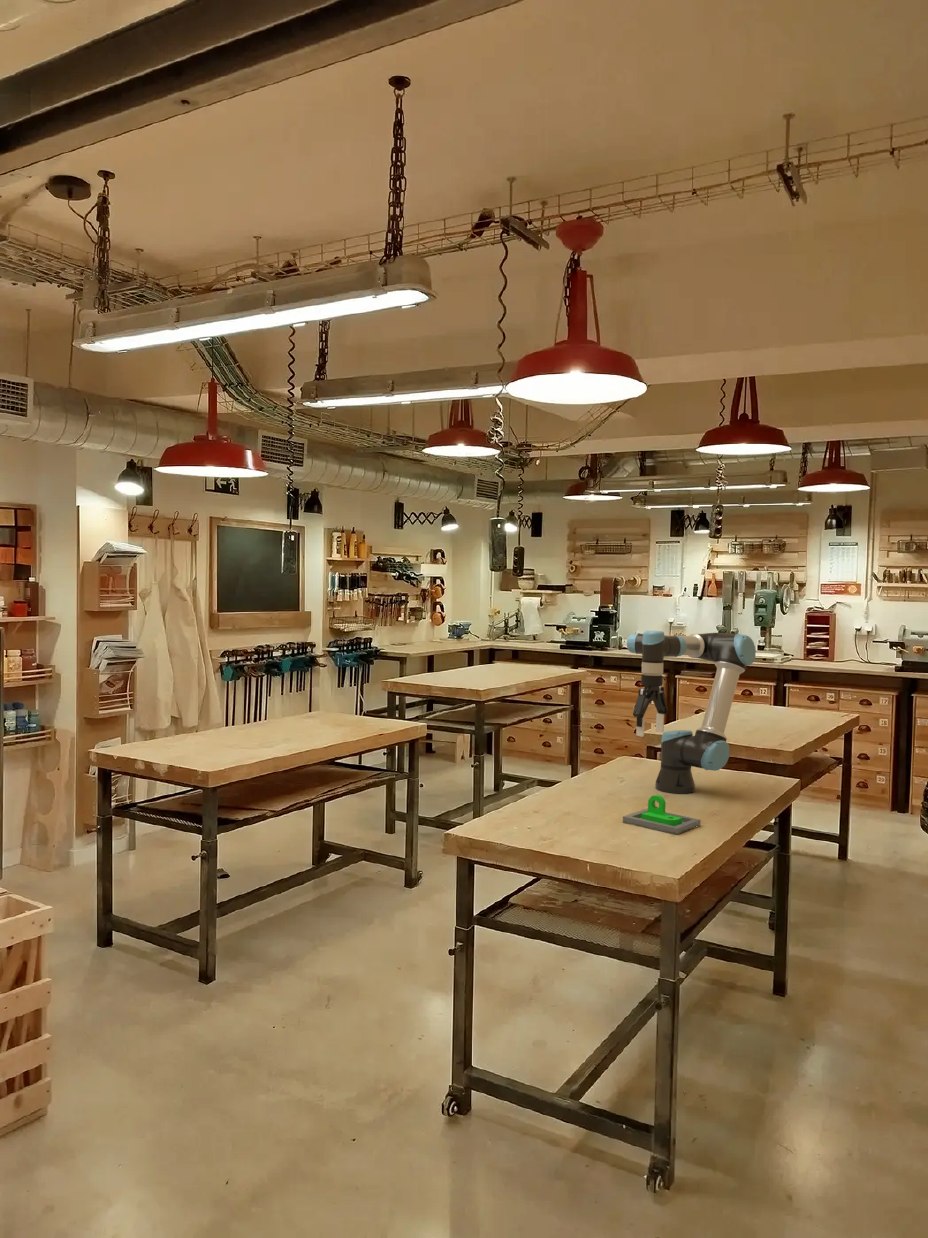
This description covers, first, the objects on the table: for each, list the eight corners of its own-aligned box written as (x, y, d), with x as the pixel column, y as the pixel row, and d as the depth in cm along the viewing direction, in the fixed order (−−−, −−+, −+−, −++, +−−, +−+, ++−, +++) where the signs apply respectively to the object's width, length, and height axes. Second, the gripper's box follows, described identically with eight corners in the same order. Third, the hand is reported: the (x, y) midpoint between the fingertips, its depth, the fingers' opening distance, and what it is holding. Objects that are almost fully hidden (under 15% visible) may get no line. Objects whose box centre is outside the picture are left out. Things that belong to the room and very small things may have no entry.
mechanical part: (641, 819, 294) (642, 796, 294) (650, 816, 299) (651, 793, 298) (672, 827, 286) (673, 802, 286) (682, 823, 290) (683, 800, 290)
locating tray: (647, 814, 304) (647, 808, 304) (700, 825, 291) (700, 819, 291) (622, 822, 292) (622, 816, 292) (676, 835, 279) (677, 828, 279)
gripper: (660, 671, 322) (658, 728, 323) (624, 675, 304) (622, 736, 304) (678, 673, 317) (676, 731, 318) (643, 677, 299) (641, 739, 299)
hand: (650, 734), depth 311 cm, fingers open, 13 cm apart
